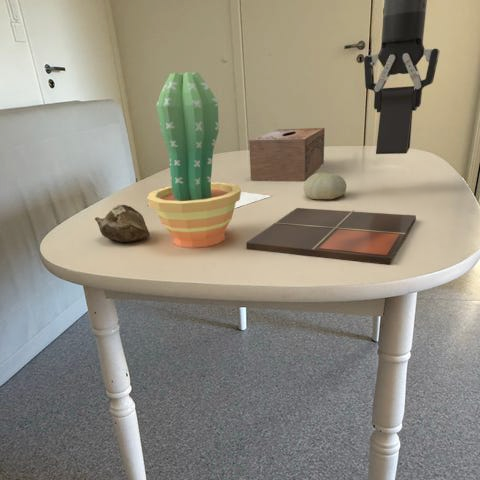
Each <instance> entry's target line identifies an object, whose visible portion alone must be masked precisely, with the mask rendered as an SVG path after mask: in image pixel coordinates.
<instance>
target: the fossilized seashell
mask: <svg viewBox="0 0 480 480" xmlns="http://www.w3.org/2000/svg"><path fill="white" fill-rule="evenodd" d="M94 221H96V223H97V226H98V228H99V232H100V233H101V236H103V237H104V238H106V239H108V240H115V241H117V242H121V243H131V242H137V241H140V240H143V239H145V238H146V237H150V231H149V229H148V226H147V224H146V221H145V219H144V216H143V214H141V212H139V211H138V210H137V209H135V208H134V207H131V206H130V205H126V204H117V205H116V206H114V207H113V208H112V209H111V210H109V212H108V213H107V214H106V215H105V217H103V218H100V217H98V216H97V217H94Z"/></svg>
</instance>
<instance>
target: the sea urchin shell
mask: <svg viewBox="0 0 480 480" xmlns="http://www.w3.org/2000/svg"><path fill="white" fill-rule="evenodd" d="M347 186H348V185H347V182H346V180H345V179H344V178H343V177H342V176H341V175H338V174H336V173H330V172H318V173H317V172H316V173H313V174H312V175H311V176H309V177H308V178H307V179H306V180H305V181H304V185H303V192H304V195H305V196H306V197H307V198H309V199H312V200H330V201H331V200H334V199H337V198H340V197H342V196H343V195H344V194H345V193H346V192H347Z"/></svg>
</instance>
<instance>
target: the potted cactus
mask: <svg viewBox="0 0 480 480" xmlns="http://www.w3.org/2000/svg"><path fill="white" fill-rule="evenodd" d="M156 110H157V115H158V120H159V127H160V132H161V135H162V136H161V137H162V138H163V141H164V143H165V146H166V148H167V151H168V159H169V168H170V171H169V172H170V181H171V186H166V187H161V188H159V189H156V190H153V191H151V192H149V193H148V195H147V198H146V199H147V202H148V206H149V205H150V206H149V207H150V208H151V209H153V210H155V212H156V214H157V216H158V217H159V220H160V222H161V224H162V225H163V227H164V228H165V229H166V230H167V231H168V233H170V234H171V236H173V245H176V246H177V247H180V248H190V249H194V248H195V249H196V248H206V247H207V248H208V247H212V246H214V245H218V244H220V243H222V242H223V241H225V240H226V235H225V231H226V230H227V227H228V226H229V224H230V223H231V221H232V218H233V215H234V211H235V208H234V207H235V204H236V202H237V201H239V200H240V194H241V192H242V190H241V188H240V185H239V184H238V185H237V184H235V183H234V184H233V183H229V182H216V181H215V182H213V181H212V182H211V179H212V171H213V157H214V156H213V155H214V149H215V145H216V142H217V138H218V135H219V131H220V130H219V128H220V127H219V126H220V125H219V100H218V99H217V97H216V96H215V94H214V92H213V91H212V90H211V88H210V86H209V85H208V84H207V83H206V81H205V79H204V78H203V76H202V75H201V74H200V72H199V71H196V72H191V71H186V72H184V73H178V72H176V71H175V72H172V73H171V72H170V73H169V75H168V77H167V80H166V81H165V83H164V85H163V87H162V90H161V91H160V93H159V97H158V100H157V102H156Z"/></svg>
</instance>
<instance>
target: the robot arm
mask: <svg viewBox="0 0 480 480" xmlns="http://www.w3.org/2000/svg"><path fill="white" fill-rule="evenodd" d="M427 3H428V0H384V1H383V8H382V32H381V47H380V50H379V51H378V53H376V54H372V55H365V56H364V58H363V66H364V83H365V85H364V86H365V89H366V90H370V91H372V92H373V93H374V97H373V98H374V99H373V108H374V110H376V113H380V110H381V97H382V89H383V88H385V85H386V83H387V82H388V81H389V78H390V77H391V76H395V75H399V74H401V75H406V74H407V75H409V77H410V79H411V81H412V84H413V86H414V90H413V100H412V111H417V109H418V108H419V107H420V106H421V105H422V95H423V89H424V88H426V87H427V86H429V85H432V84H433V83H434V81H435V80H434V79H435V75H436V70H437V66H438V61H439V57H440V53H441V51H440V49H439V48H433V49H431V48H429V49H428V48H427V49H426V48H425V46H424V35H425V24H426V23H425V22H426V15H427ZM424 56H425V61H426V62H427V63H428V65H427V68H426V69H427V70H426V74H425V78H424V79H422V78H421V74H420V72H419V69H418V67H417V65H418V64H419V62H420V61H421V60H422V58H423V57H424ZM378 61H379V62H380V64H381V66H382V68H383V69H382V71H381V73H380V75H379V76H378V79H377V82H376V83H375V73H374V70H375V69H374V68H375V67H376V66H377V62H378Z"/></svg>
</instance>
